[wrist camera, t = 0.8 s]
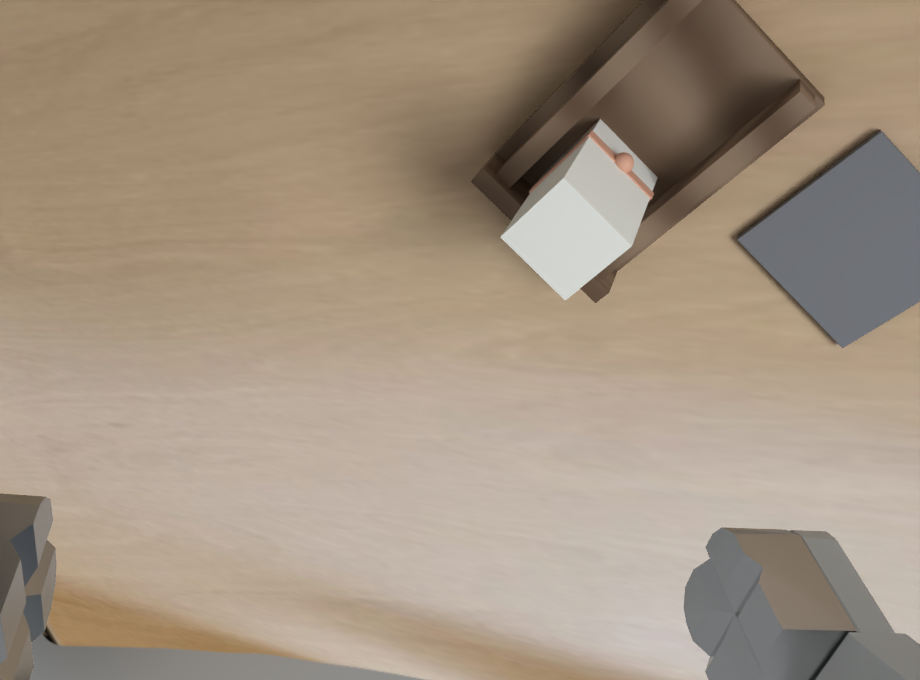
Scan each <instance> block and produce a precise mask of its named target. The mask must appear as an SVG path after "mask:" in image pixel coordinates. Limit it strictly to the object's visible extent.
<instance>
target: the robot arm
mask: <svg viewBox="0 0 920 680" xmlns="http://www.w3.org/2000/svg"><path fill="white" fill-rule="evenodd" d="M52 522H53V516H52V508H51V500H50V499H49V498H47V497H42V496H28V495H13V494H0V680H30V677H31V674H32V670H33V667H34V666H33V657H32V647H31V642H32V641H33V640H35V639H36V638H37V637H38V636H39V635H41V634H42V633H43V632H44V631H45V628H46V624H47V620H48V617H49V613H50V610H51V605H52V600H53V594H54V588H55V582H56V549H55V547H54V546H53V545H52V544H51V543H50V542H49V541H47V537H48V534H49V531H50V528H51V525H52ZM706 550H707V552H708V555H709V557H710V559H709V560H707V561H706V562H704V563H703V564H701V565H700V566H698V567H697V568H695V569H694V570H693V572H692V574H691V576H690V578H689V581H688V583H687V585H686V587H685V598H684V611H685V617H686V623H687V626H688V629H689V631H690V634H691V637H692V639H693V641H694V642H695V643H696V644H697V645H698V646H699V647H700V648H701V649H703V650H704V651H705V652H706V653H707V654H708V655H709V656H710V658H709V661H708V665H707V668H706V671H705V672H706V674H707V677H708V679H709V680H920V644H918V643H917V642H916V641H914V640H913V639H912V638H910V637H909V636H908V635H906V634H899V633H895V632H894V631H893V629H892V627H891V626H890V624H889V623H888V621H887V619H886V618H885V616H884V615H883V613H882V612H881V610H880V608H879V607H878V605H877V604H876V602H875V600H874V599H873V597H872V596H871V594H870V592H869V591H868V589H867V588H866V586H865V584H864V583H863V581H862V580H861V578H860V576H859V575H858V573H857V572H856V570H855V569H854V567H853V565H852V564H851V562H850V561H849V559H848V557H847V556H846V554H845V553H844V551H843V549H842V548H841V546H840V545H839V543H838V541H837V540H836V539H835V538H834V537H833V536H831V535H830V534H829V533H827V532H824V531H799V530H791V531H788V530H778V529H749V528H720V529H719V530H718V531H716V532H715V533H713V534H712V536H711V538H710V540H709V542H708V543H707V545H706Z"/></svg>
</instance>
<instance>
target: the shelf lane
mask: <svg viewBox="0 0 920 680" xmlns="http://www.w3.org/2000/svg"><path fill="white" fill-rule="evenodd" d="M824 105H825V104H824V97H823V96H822V95H821V94H820V92H819V91H818V90H817V89H816V88H815V87H814V86H813V85H812V84H811V83H810V82H809V80H808V79H807V78H806V77H805V76H804V75H803V74H802V73H801V72H800V71H799V70H798V69H797V67H796V66H795V65H794V64H793V63H792V62H791V61H790V60H789V59H788V58H787V57H786V55H785V54H784V53H783V52H782V51H781V50H780V49H779V48H778V47H777V46H776V45H775V44H774V42H773V41H772V40H771V39H770V38H769V37H768V36H767V35H766V34H765V33H764V32H763V30H762V29H761V28H760V27H759V26H758V25H757V24H756V23H755V22H754V21H753V20H752V18H751V17H750V16H749V15H748V14H747V13H746V12H745V11H744V10H743V9H742V8H741V7H740V5H739V4H738V3H737V2H736V1H735V0H644V1H643V2H642V3H641V4H640V5H639V6H638V7H637V8H636V9H635V10H634V11H633V12H632V13H631V15H630V16H629V17H628V18H627V19H626V20H625V21H624V22H623V23H622V24H621V25H620V26H619V27H618V28H617V29H616V30H615V31H614V32H613V33H612V34H611V35H610V36H609V37H608V38H607V39H606V40H605V41H604V42H603V43H602V44H601V45H600V46H599V47H598V48H597V49H596V50H595V51H594V52H593V54H592V55H591V56H590V57H589V58H588V59H587V60H586V61H585V62H584V63H583V64H582V65H581V66H580V67H579V68H578V69H577V70H576V71H575V72H574V73H573V74H572V75H571V76H570V77H569V78H568V79H567V80H566V81H565V82H564V83H563V84H562V85H561V86H560V87H559V88H558V89H557V90H556V92H555V93H554V94H553V95H552V96H551V97H550V98H549V99H548V100H547V101H546V102H545V103H544V104H543V105H542V106H541V107H540V108H539V109H538V110H537V111H536V112H535V113H534V114H533V115H532V116H531V117H530V118H529V119H528V120H527V121H526V122H525V123H524V124H523V125H522V126H521V127H520V128H519V130H518V131H517V132H516V133H515V134H514V135H513V136H512V137H511V138H510V139H509V140H508V141H507V142H506V143H505V144H504V145H503V146H502V147H501V148H500V149H499V150H498V151H497V152H496V153H495V154H494V155H493V156H492V157H491V158H490V160H489V161H488V162H487V163H486V164H485V166H484V167H483V168H482V169H481V170H480V171H479V173H478V174H477V175H476V176H475V177H474V178H473V180H472V181H471V182H472V183H473V184H474V185H475V186H476V187H477V188H478V189H479V190H480V191H482V192H483V193H484V194H485V195H486V196H487V197H488V198H489V199H490V200H491V201H492V202H493V203H494V204H495V205H496V206H497V207H498V208H499V209H500V210H501V211H502V212H503V213H504V214H505V215H506V216H507V217H508V218H509V219H510V220H511V221H512V219H513V218H514V216H515V215H516V213H517V212H518V210H519V209H520V207H521V206H522V204H523V203H524V202H525V200H526V199H527V197H528V196H529V194H530V193H529V191H530V189H531V188H532V187H533V186H534V185H535V184H536V183H537V182H538V181H539V179H540V178H541V176H542V175H543V174H544V172H545V171H546V170H547V169H548V168H549V167H550V166H551V165H553V164H554V163H555V162H556V161H557V160H558V159H559V158H560V157H561V156H562V155H563V154H564V153H565V152H566V151H567V150H568V149H569V148H570V147H571V146H572V145H573V144H574V143H575V142H577V141H578V140H579V139H580V138H581V137H582V136H583V135H584V134H585V133H586V132H587V131H588V130H589V129H590V128H591V127H592V126H593V125H594V124H595V123H596V122H597V121H598V120H599V119H601V120H602V121H603V122H604V123H605V124H606V125H607V126H608V127H609V128H610V129H611V130H612V131H613V132H614V133H615V134H616V135H617V136H618V137H619V138H620V139H621V140H622V141H623V142H624V143H625V144H626V145H627V147H628V148H629V149H630V150H631V151H632V152H633V153H634V154H635V155H636V156H637V157H638V158H639V159H640V160H641V161H642V162H643V163H644V164H645V165H646V166H647V167H648V168H649V169H650V170H651V171H652V172H653V173H654V174H655V175H656V176H657V177H658V178H657V181H656V183H655V186H654V189H653V191H652V192H653V193H654V195H653V198H652V199H651V200H650V201H649V202H648V205H647V207H646V210H645V213H644V215H643V218H642V221H641V223H640V226H639V229H638V231H637V234H636V237H635V239H634V242H633V245H632V247H630V248H629V249H628V250H627V251H625V252H624V253H623V254H622V255H621V256H619V257H618V258H617V259H616V260H614V261H613V262H612V263H611V264H610V265H608V266H607V267H606V268H605V269H603V270H602V271H601V272H600V273H598V274H597V275H596V276H595V277H594V278H592V279H591V280H590V281H589V282H587V283H586V284H585V285H584V286H583V287H581V288H580V289H582V290H583V291H584V292H585V293H586V294H587V295H588V296H589V297H590V298H591V299H592V300H593V301H594V302H595V303H596V302H598V301H599V300H600V299H601V298H603V297H604V296H605V295H607V294H608V293H609V291H610V289H611V286H612V283H613V281H614V278H615V276H616V273H617V271H618V270H620V269H621V268H622V267H623V266H625V265H626V264H627V263H628V262H629V261H631V260H632V259H633V258H634V257H636V256H637V255H638V254H639V253H641V252H642V251H643V250H644V249H646V248H647V247H648V246H649V245H651V244H652V243H653V242H654V241H656V240H657V239H658V238H659V237H661V236H662V235H663V234H664V233H666V232H667V231H668V230H669V229H671V228H672V227H673V226H674V225H676V224H677V223H678V222H679V221H681V220H682V219H683V218H684V217H686V216H687V215H688V214H689V213H691V212H692V211H693V210H694V209H696V208H697V207H698V206H699V205H701V204H702V203H703V202H704V201H706V200H707V199H708V198H709V197H711V196H712V195H713V194H714V193H716V192H717V191H718V190H719V189H721V188H722V187H723V186H724V185H725V184H727V183H728V182H729V181H730V180H732V179H733V178H734V177H735V176H737V175H738V174H739V173H740V172H742V171H743V170H744V169H745V168H747V167H748V166H749V165H750V164H752V163H753V162H754V161H755V160H757V159H758V158H759V157H760V156H762V155H763V154H764V153H765V152H767V151H768V150H769V149H770V148H772V147H773V146H774V145H775V144H777V143H778V142H779V141H780V140H782V139H783V138H784V137H785V136H787V135H788V134H789V133H790V132H792V131H793V130H794V129H795V128H797V127H798V126H799V125H800V124H802V123H803V122H804V121H805V120H807V119H808V118H809V117H810V116H812V115H813V114H814V113H815V112H817V111H818V110H819V109H820V108H821V107H823V106H824Z"/></svg>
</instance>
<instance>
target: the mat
mask: <svg viewBox="0 0 920 680" xmlns="http://www.w3.org/2000/svg"><path fill="white" fill-rule="evenodd" d="M737 240H738V241H739V242H740V243H741V244H742V245H743V246H744V247H745V248H746V249H747V250H748V251H749V252H750V254H751V255H752V256H753V257H754V258H755V259H756V260H757V261H758V262H759V263H760V264H761V265H762V266H763V267H764V268H765V269H766V270H767V271H768V272H769V273H770V274H771V275H772V276H773V277H774V278H775V279H776V280H777V281H778V282H779V283H780V284H781V285H782V286H783V287H784V289H785V290H786V291H787V292H788V293H789V294H790V295H791V296H792V297H793V298H794V299H795V300H796V301H797V302H798V303H799V304H800V305H801V306H802V307H803V308H804V309H805V310H806V311H807V312H808V313H809V314H810V315H811V316H812V317H813V318H814V319H815V320H816V321H817V322H818V324H819V325H820V326H821V327H822V328H823V329H824V330H825V331H826V332H827V333H828V334H829V335H830V336H831V337H832V338H833V339H834V340H835V341H836V342H837V343H838V344H839V345H840V346H841V347H842V348H844V347H845V346H847V345H849V344H850V343H852V342H854V341H855V340H857V339H859V338H860V337H862V336H864V335H865V334H867V333H868V332H870V331H872V330H873V329H875V328H877V327H878V326H880V325H882V324H883V323H885V322H887V321H888V320H890V319H892V318H893V317H895V316H897V315H898V314H900V313H902V312H903V311H905V310H906V309H908V308H910V307H911V306H913V305H915V304H916V303H918V302H920V173H919V171H918V170H917V169H916V168H915V167H914V166H913V165H912V164H911V163H910V162H909V161H908V159H907V158H906V157H905V156H904V155H903V154H902V153H901V152H900V151H899V150H898V148H897V147H896V146H895V145H894V144H893V143H892V142H891V141H890V140H889V139H888V138H887V136H886V135H885V134H884V133H883V132H882V131H881V130H879V131H878V132H877V133H875V134H874V135H873V136H871V137H870V138H869V139H867V140H866V141H865V142H863V143H862V144H861V145H859V146H858V147H857V148H855V149H854V150H853V151H851V152H850V153H849V154H847V155H846V156H845V157H843V158H842V159H841V160H839V161H838V162H837V163H835V164H834V165H833V166H831V167H830V168H829V169H827V170H826V171H825V172H823V173H822V174H821V175H819V176H818V177H817V178H815V179H814V180H813V181H811V182H810V183H809V184H807V185H806V186H805V187H803V188H802V189H801V190H799V191H798V192H797V193H795V194H794V195H793V196H791V197H790V198H789V199H787V200H786V201H785V202H783V203H782V204H781V205H779V206H778V207H777V208H775V209H774V210H773V211H771V212H770V213H769V214H767V215H766V216H765V217H763V218H762V219H761V220H759V221H758V222H757V223H755V224H754V225H753V226H751V227H750V228H749V229H747V230H746V231H745V232H743V233H742V234H741V235H739V236H738V239H737Z"/></svg>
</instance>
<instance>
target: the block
mask: <svg viewBox="0 0 920 680" xmlns="http://www.w3.org/2000/svg"><path fill="white" fill-rule="evenodd" d="M657 178H658V177H657V176H656V175H655V174H654V173H653V172H652V171H651V170H650V169H649V168H648V167H647V166H646V165H645V164H644V163H643V162H642V161H641V160H640V159H639V158H638V157H637V156H636V155H635V154H634V153H633V152H632V151H631V150H630V149H629V148H628V147H627V145H626V144H625V143H624V142H623V141H622V140H621V139H620V138H619V137H618V136H617V135H616V134H615V133H614V132H613V131H612V130H611V129H610V128H609V127H608V126H607V125H606V124H605V123H604V122H603V121H602V120H601V119H599V120H598V121H597V122H596V123H595V124H594V125H593V126H592V127H591V128H590V129H589V130H588V131H587V132H586V133H585V134H584V135H583V136H582V137H581V138H580V139H579V140H578V141H577V142H575V143H574V144H573V145H572V146H571V147H570V148H569V149H568V150H567V151H566V152H565V153H564V154H563V155H562V156H561V157H560V158H559V159H558V160H557V161H556V162H555V163H554V164H553V165H551V166H550V167H549V168H548V169H547V170H546V171H545V172H544V174H543V175H542V176H541V178H540V179H539V181H538V182H537V183H536V184H535V185H534V186H533V187H532V188H531V189H530V191H529V193H530V194H529V196H528V197H527V199H526V200H525V202H524V203H523V204H522V206H521V207H520V209H519V210H518V212H517V213H516V215H515V216H514V218H513V219H512V221H511V222H510V224H509V225H508V227H507V228H506V230H505V231H504V232H503V234H502V235H501V238H502V239H503V240H504V241H505V242H506V243H507V244H508V245H509V246H510V247H511V248H512V249H513V250H514V251H515V252H516V253H517V254H518V255H519V256H520V257H521V258H522V259H523V260H524V261H525V262H526V263H527V264H528V265H529V266H530V267H531V268H532V269H533V270H534V271H535V272H537V273H538V274H539V275H540V276H541V277H542V278H543V279H544V280H545V281H546V282H547V283H548V284H549V285H550V286H551V287H552V288H553V289H554V290H555V291H556V292H557V293H558V294H559V295H560V296H561V297H562V298H563V299H564V300H567V299H568V298H569V297H570V296H571V295H573V294H574V293H575V292H576V291H578V290H579V289H580V288H581V287H583V286H584V285H585V284H586V283H587V282H589V281H590V280H591V279H592V278H594V277H595V276H596V275H597V274H598V273H600V272H601V271H602V270H603V269H605V268H606V267H607V266H608V265H610V264H611V263H612V262H613V261H614V260H616V259H617V258H618V257H619V256H621V255H622V254H623V253H624V252H625V251H627V250H628V249H629V248H630V247H632V245H633V242H634V239H635V237H636V234H637V231H638V229H639V226H640V223H641V221H642V218H643V215H644V213H645V210H646V207H647V205H648V202H649V201H650V200H651V199H652V198H653V195H654V193H653V192H652V191H653V189H654V186H655V183H656V181H657Z"/></svg>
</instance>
